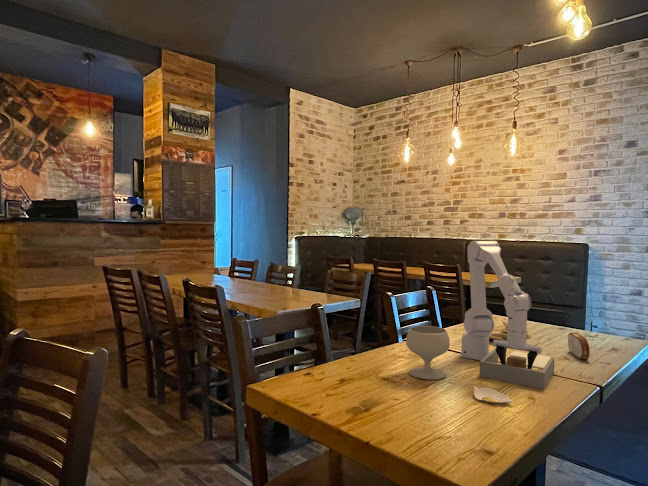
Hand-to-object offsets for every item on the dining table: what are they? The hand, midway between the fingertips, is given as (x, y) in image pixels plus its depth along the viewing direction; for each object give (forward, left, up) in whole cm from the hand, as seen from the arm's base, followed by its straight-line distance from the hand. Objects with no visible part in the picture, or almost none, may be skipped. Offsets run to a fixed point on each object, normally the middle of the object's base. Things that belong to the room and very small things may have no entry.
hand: (516, 371), depth 140 cm
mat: (0, +22, -1) cm, 22 cm away
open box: (0, +2, -1) cm, 2 cm away
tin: (+14, +38, -2) cm, 41 cm away
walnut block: (0, 0, -2) cm, 2 cm away
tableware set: (-14, +50, -2) cm, 52 cm away
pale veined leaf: (-1, -26, -2) cm, 26 cm away
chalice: (-24, -16, -2) cm, 29 cm away
